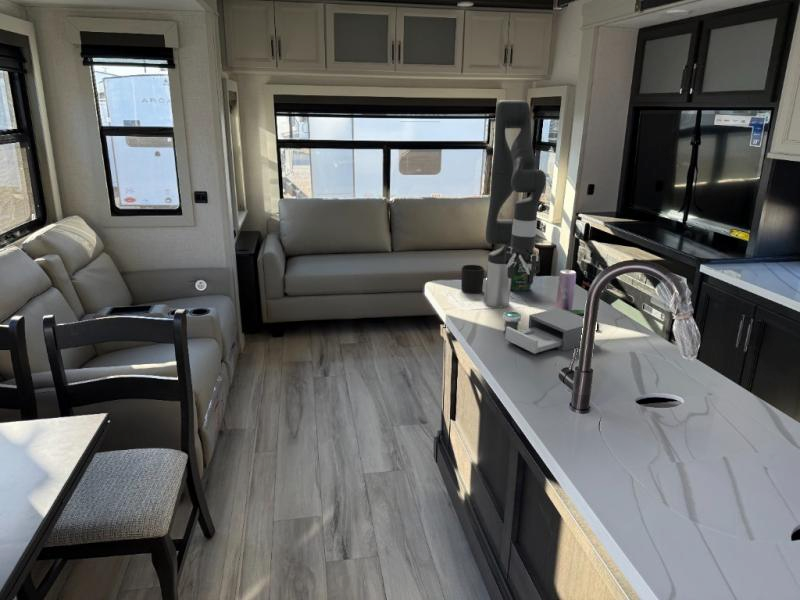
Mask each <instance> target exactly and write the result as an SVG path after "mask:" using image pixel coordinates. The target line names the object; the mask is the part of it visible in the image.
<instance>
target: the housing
mask: <svg viewBox="0 0 800 600" xmlns="http://www.w3.org/2000/svg"><path fill="white" fill-rule="evenodd" d="M583 318H584V317H581V316H579V315H576V314H573V313H571V312H568V311H566V310H563V309H561V308H556V307H555V308H551V309H549V310H548V309H547V310H545V311H541V312H537V313H536V312H535V313H532V314H529V316H528V325H527V327H528V328H527V329H529V328H533V327H536V328H538V329H540V330H542V331H545V332H547V333H549V334H552V335H554V336H556V337H558V338H561V339H563V341H562V345H561V346H558V347H555V348H557V349H559V350H561V351H563V352H565V351H569V350H572V348H573V347H576V348H578V346H579V347H581V346H580V341H581V335H582V328H583ZM573 349H574V348H573Z"/></svg>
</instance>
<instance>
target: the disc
mask: <svg viewBox="0 0 800 600" xmlns="http://www.w3.org/2000/svg"><path fill="white" fill-rule="evenodd" d="M502 320H503V321H504V322H505V321H507V322H518V323H519V322H521V320H522V314H521V313H519V312H516V311H505V312H503V313H502Z"/></svg>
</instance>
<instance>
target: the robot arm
mask: <svg viewBox="0 0 800 600" xmlns="http://www.w3.org/2000/svg"><path fill="white" fill-rule="evenodd" d="M531 119H532V118H531V107H530V105H529V103H528V102H527V100H524V99H523V100H521V99H501V100H499V101H498V102H497V105H496V109H495V119H494V120H495V121H494V122H495V123H494V125H495V126H494V131H495V132H494V151H493V158H492V159H493V160H492V167H491V180H490V196H489V206H488V214H487V220H486V225H485V240H486V243H487V244H490V245H491V244H492V245H502V246H501V247H500V248H498V249H496V250H492V251H490V252H489V253H488V255H487V269H486V270H487V271H486V277H485V279H484V289H483V290H484V292H483V302H484V303H485V304H486V305H487V306H489V307H493V308H506V307H508V306H509V305H510V297H511V289H510V287H511V278H514V271H515V267H514V266H515V265H516V263H519V264H521V265H523V267H524V268H525V269H526V272H527V274H526V285H531V286H532V284H533V282H534V275H535V274H539V273H540V265H541V255H540V254H535V253H534V254H533V252H532V250H534V249H535V246H536V245H535V244H536V236H537V216H538V208H539V203H540V200H541V197H542V195H543V192H544V189H545V186H546V184H547V176H546V173H545V172H544V171H543V170H542V169H535V167H536V164H537V162H536V158H535V156H536V155H535V152H534V148H533V140H532V122H531V121H532V120H531ZM506 129H520V132H519V133H518V135H517V136H516V138H515V139H514V140H513V142H512V144H511V149H510V146H509V144H508V141H507V137H506ZM514 192H516V193H519V194H520V193H524V194H525V193H529V196H528V197H526V198H524V199H519V200H517V201H515V204H514V212H513V219H512V218H511V219H507V218H505V219H504V218H499V219H498V217H499V213H500V211H501V209H502V208H503V205H504V204H505V203H506V201H507V200H508V199H509V197H510V196H511V195H512V194H513V193H514ZM528 263H529V264H528ZM527 264H528V265H527ZM529 268H530V269H529Z"/></svg>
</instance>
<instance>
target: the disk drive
mask: <svg viewBox="0 0 800 600" xmlns="http://www.w3.org/2000/svg"><path fill="white" fill-rule="evenodd" d="M584 310H585V309H572V310H566V311H568V312H571V313H573V314H576V315H579V316H581V317H583V316H584ZM599 330H600V324H599V322H598V321H597V330H596V331H599Z"/></svg>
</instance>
